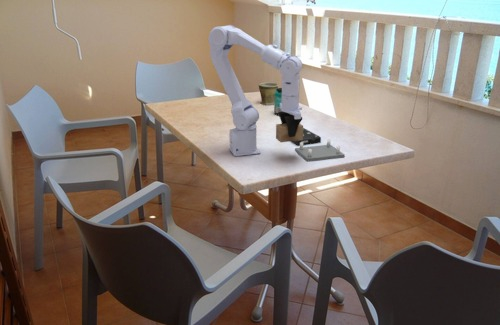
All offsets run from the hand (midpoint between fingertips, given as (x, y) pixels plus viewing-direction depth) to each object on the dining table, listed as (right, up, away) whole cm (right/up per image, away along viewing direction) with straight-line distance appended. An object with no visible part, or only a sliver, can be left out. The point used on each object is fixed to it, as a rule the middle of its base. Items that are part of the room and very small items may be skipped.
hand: (289, 134), depth 140 cm
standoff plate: (+11, -7, +6) cm, 14 cm away
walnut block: (0, -2, +1) cm, 2 cm away
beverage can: (+2, +13, +56) cm, 58 cm away
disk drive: (+6, -1, +23) cm, 23 cm away
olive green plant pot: (-4, +21, +77) cm, 80 cm away
